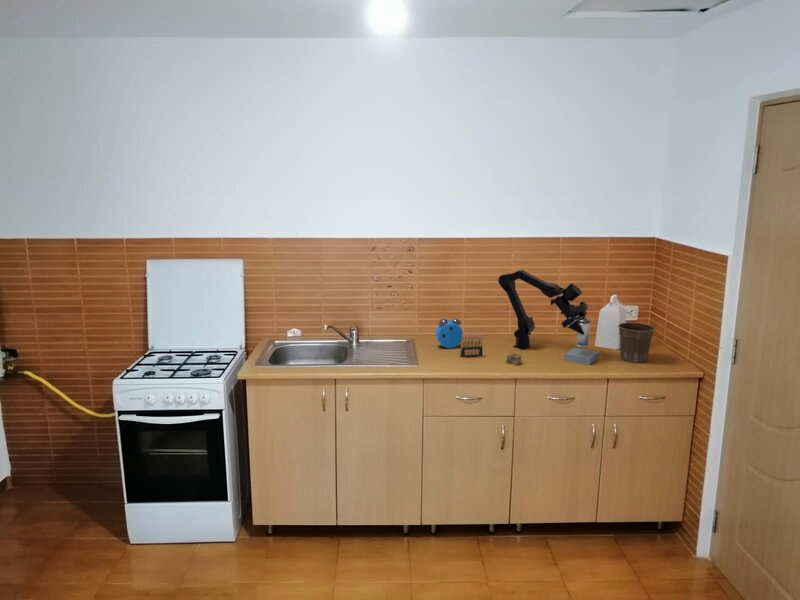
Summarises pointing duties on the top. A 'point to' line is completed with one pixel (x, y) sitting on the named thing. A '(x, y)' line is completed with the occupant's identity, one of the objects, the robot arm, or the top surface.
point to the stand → (581, 356)
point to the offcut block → (513, 358)
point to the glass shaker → (583, 339)
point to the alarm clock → (449, 333)
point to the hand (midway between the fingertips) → (586, 333)
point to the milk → (610, 324)
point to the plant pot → (635, 341)
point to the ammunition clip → (471, 346)
